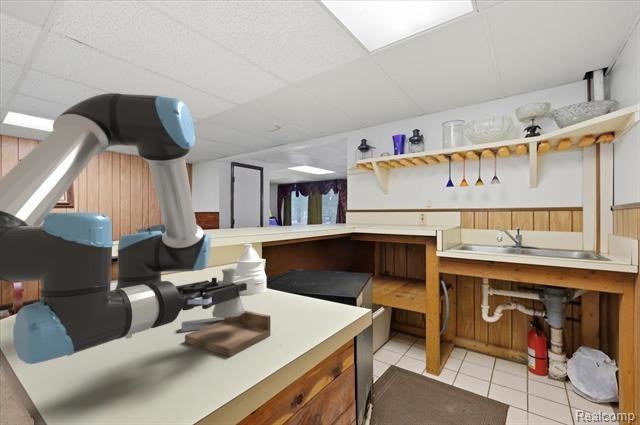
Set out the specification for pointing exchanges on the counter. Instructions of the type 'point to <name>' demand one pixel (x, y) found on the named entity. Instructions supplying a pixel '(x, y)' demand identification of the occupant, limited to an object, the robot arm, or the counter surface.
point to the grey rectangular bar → (199, 324)
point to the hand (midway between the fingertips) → (246, 282)
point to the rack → (232, 333)
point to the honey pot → (251, 270)
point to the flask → (230, 306)
